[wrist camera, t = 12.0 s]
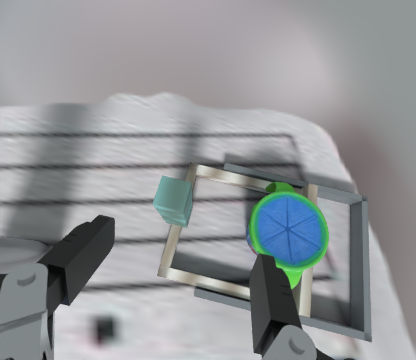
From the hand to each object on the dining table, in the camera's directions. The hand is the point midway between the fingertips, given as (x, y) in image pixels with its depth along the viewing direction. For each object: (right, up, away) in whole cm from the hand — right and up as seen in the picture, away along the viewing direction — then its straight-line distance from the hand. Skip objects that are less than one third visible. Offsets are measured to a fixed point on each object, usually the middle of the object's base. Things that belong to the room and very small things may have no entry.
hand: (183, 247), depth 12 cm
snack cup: (+12, -6, +26) cm, 30 cm away
